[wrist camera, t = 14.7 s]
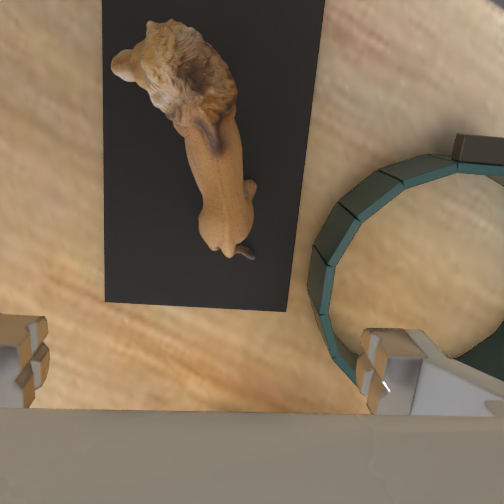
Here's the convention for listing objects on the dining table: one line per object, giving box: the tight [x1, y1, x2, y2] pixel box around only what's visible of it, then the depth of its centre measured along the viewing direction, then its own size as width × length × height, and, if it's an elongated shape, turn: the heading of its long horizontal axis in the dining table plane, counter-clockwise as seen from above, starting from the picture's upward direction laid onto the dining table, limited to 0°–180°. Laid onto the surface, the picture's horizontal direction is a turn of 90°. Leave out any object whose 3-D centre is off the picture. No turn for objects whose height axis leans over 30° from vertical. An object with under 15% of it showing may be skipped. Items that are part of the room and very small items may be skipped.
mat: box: [102, 0, 325, 312], centre depth 30 cm, size 13×21×1 cm, turn 174°
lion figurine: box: [111, 19, 257, 260], centre depth 26 cm, size 15×5×9 cm, turn 21°
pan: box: [307, 133, 504, 387], centre depth 32 cm, size 17×20×4 cm
